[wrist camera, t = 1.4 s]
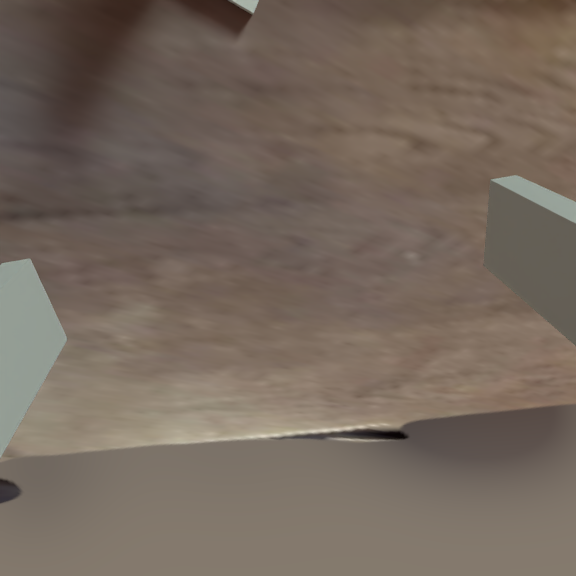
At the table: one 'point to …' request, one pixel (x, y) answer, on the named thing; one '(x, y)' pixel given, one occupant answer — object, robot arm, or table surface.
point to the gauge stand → (246, 5)
